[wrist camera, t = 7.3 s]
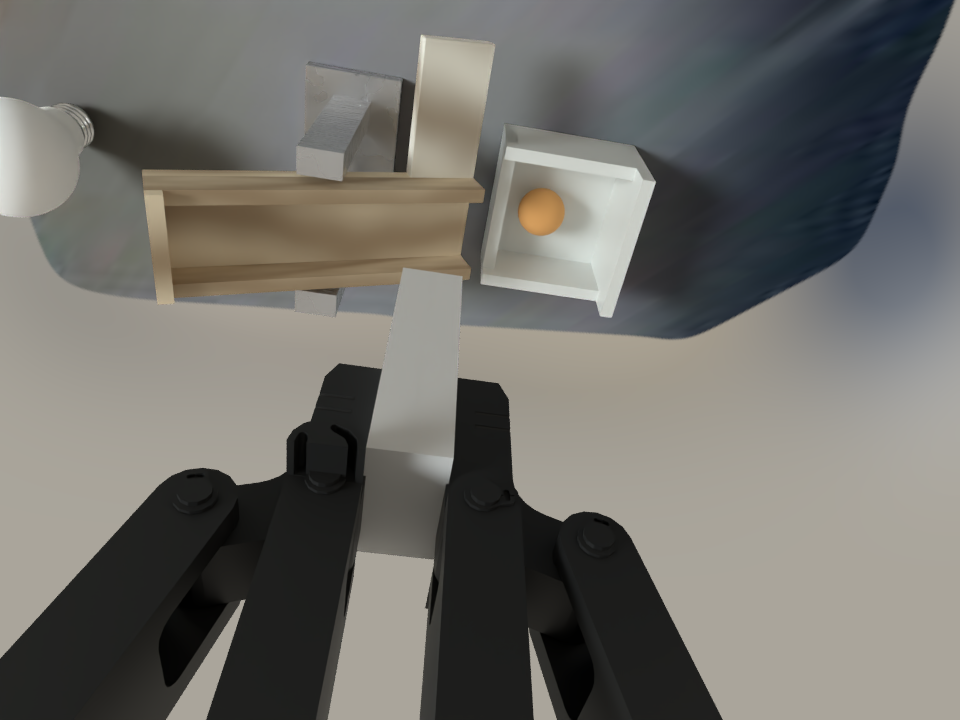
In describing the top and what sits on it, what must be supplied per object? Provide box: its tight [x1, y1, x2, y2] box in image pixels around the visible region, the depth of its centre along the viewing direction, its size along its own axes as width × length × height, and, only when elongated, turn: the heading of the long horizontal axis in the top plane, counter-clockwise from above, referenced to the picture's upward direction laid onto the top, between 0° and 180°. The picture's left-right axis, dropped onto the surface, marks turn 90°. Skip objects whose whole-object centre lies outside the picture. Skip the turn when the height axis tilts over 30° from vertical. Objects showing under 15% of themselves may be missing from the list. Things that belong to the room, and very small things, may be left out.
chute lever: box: [142, 35, 495, 305], centre depth 36 cm, size 14×18×4 cm
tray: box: [481, 123, 656, 318], centre depth 45 cm, size 10×9×7 cm
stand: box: [295, 62, 403, 317], centre depth 42 cm, size 13×6×12 cm, turn 170°
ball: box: [518, 188, 565, 236], centre depth 46 cm, size 3×3×3 cm
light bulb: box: [0, 97, 95, 217], centre depth 40 cm, size 7×7×11 cm
